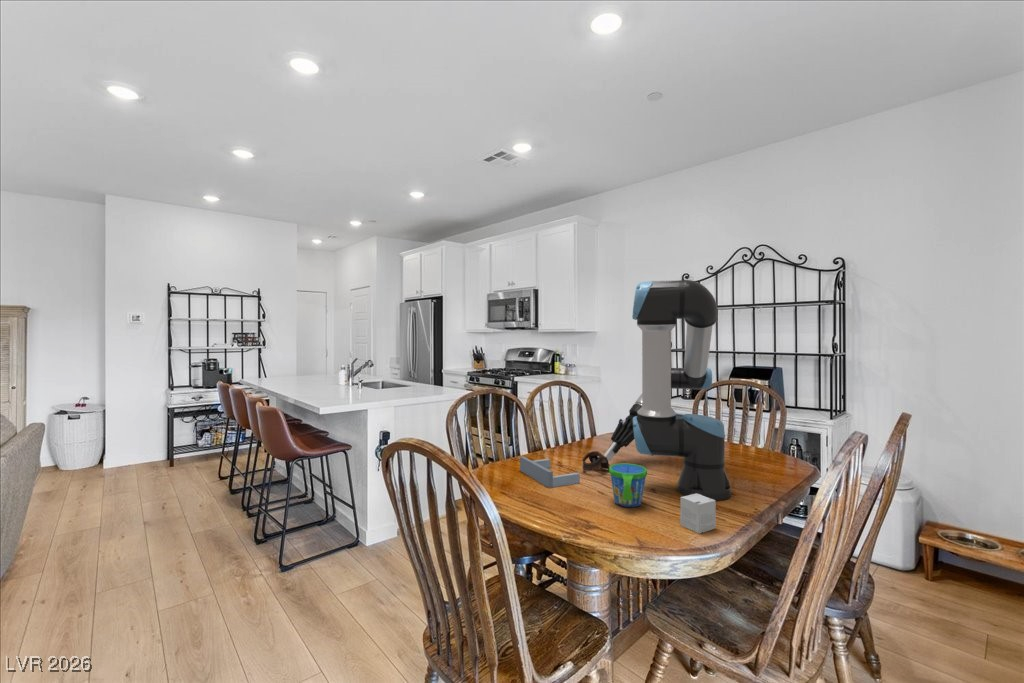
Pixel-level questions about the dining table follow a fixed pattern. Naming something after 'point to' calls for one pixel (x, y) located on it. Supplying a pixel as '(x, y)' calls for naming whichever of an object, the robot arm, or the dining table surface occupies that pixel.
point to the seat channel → (546, 473)
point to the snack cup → (628, 483)
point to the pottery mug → (595, 461)
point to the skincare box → (698, 513)
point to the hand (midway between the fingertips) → (606, 458)
